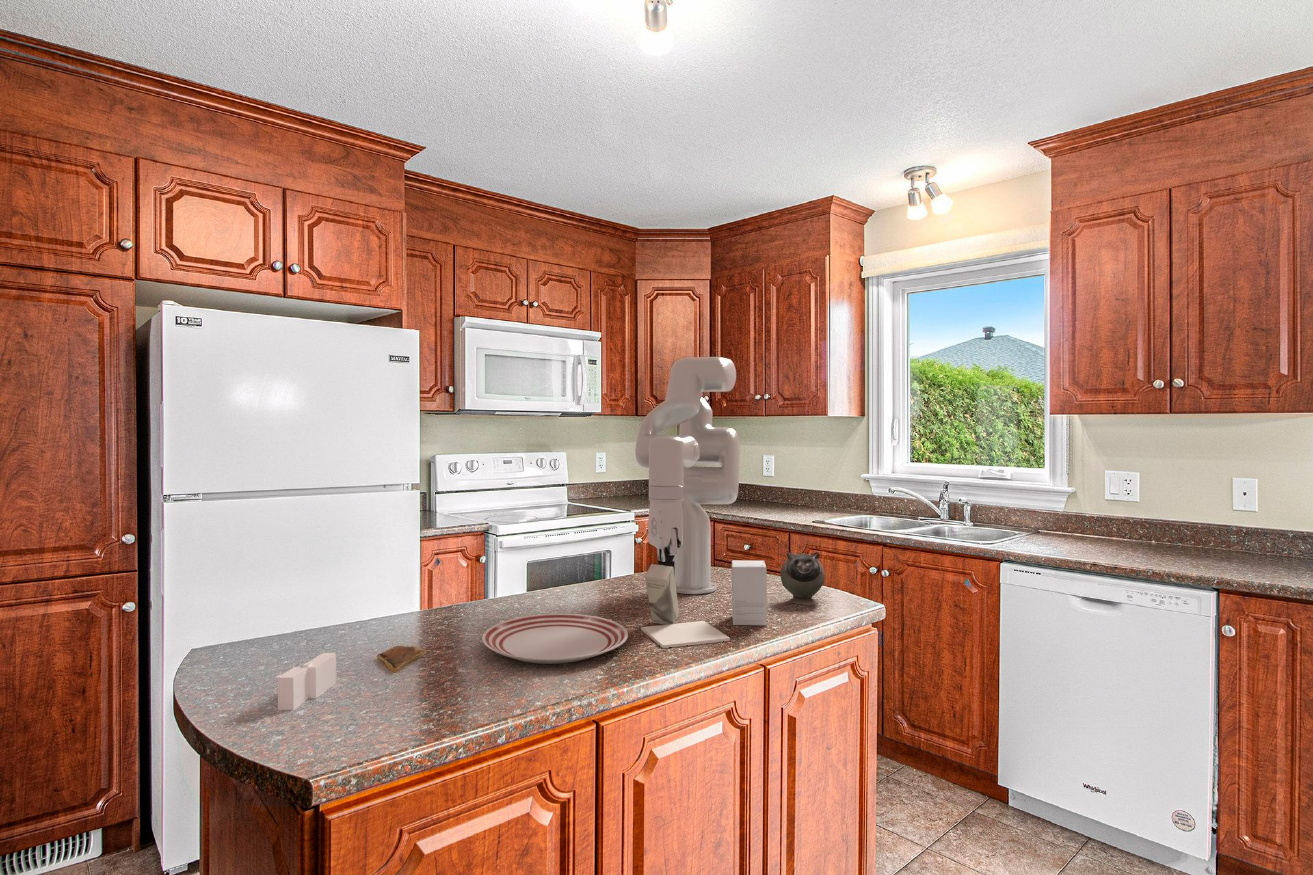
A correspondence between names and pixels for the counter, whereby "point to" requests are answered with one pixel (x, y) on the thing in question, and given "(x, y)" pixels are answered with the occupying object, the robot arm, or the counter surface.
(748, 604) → the supplement box
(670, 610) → the box
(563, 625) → the dinner plate
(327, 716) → the counter surface
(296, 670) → the pink notched block
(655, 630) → the beige flat slab
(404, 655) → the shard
